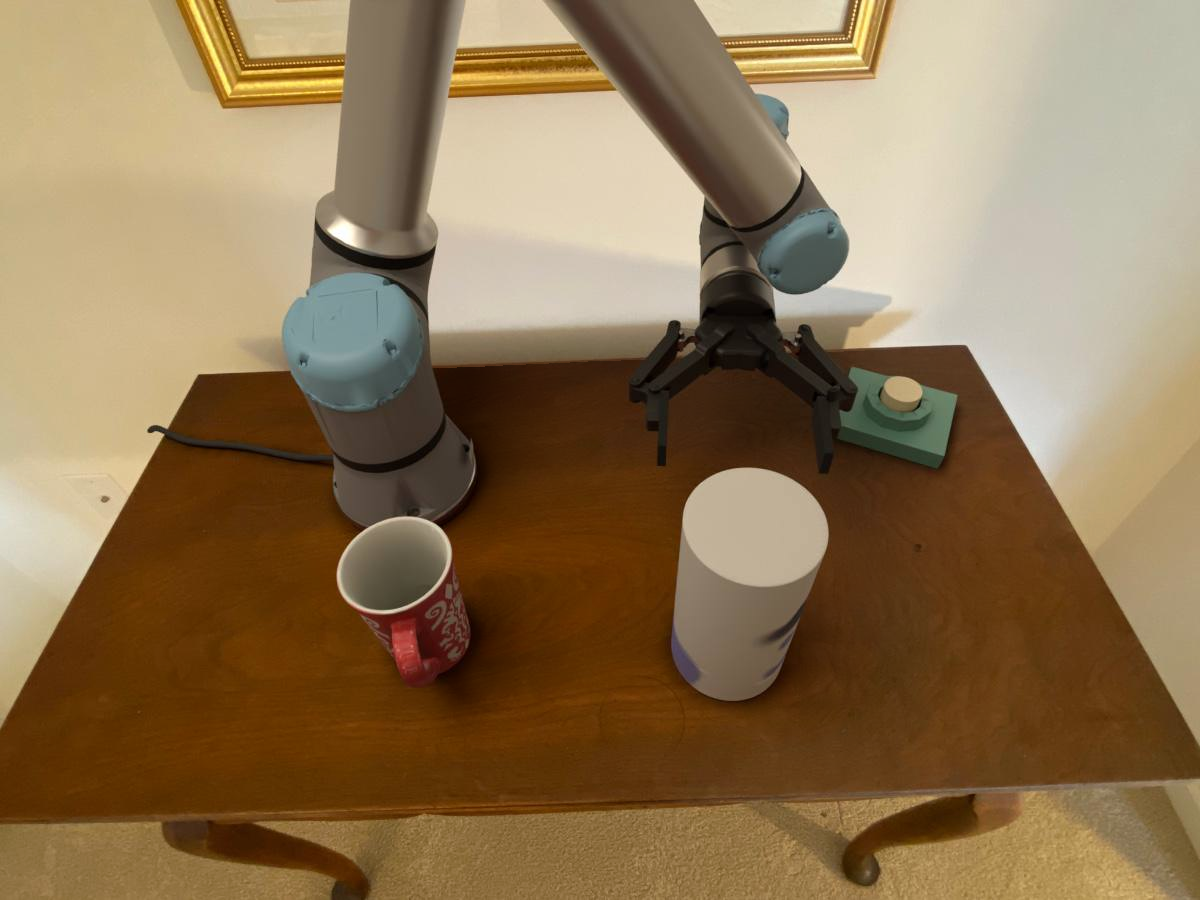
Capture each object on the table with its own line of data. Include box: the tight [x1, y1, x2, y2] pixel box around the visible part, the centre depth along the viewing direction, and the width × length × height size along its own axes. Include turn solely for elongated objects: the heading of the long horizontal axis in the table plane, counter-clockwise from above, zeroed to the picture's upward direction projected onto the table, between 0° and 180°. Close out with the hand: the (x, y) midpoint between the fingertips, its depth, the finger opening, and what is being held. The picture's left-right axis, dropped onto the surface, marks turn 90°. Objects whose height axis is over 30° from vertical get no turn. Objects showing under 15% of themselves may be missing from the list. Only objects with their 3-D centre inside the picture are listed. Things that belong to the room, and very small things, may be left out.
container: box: [670, 467, 830, 702], centre depth 57 cm, size 10×10×20 cm
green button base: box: [837, 366, 958, 470], centre depth 80 cm, size 12×10×4 cm
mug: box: [335, 516, 471, 689], centre depth 60 cm, size 13×9×14 cm
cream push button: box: [880, 375, 923, 413], centre depth 78 cm, size 4×4×2 cm
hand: (743, 460), depth 59 cm, fingers open, 13 cm apart
